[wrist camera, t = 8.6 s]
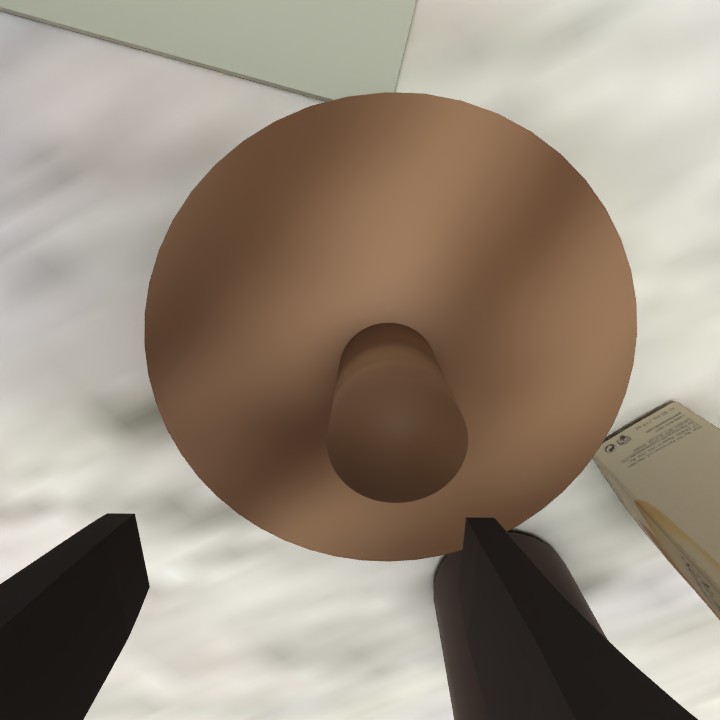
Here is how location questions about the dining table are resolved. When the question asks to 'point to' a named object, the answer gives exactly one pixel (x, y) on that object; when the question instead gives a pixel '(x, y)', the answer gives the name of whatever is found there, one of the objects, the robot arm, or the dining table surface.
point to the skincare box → (672, 490)
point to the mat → (253, 37)
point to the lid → (390, 325)
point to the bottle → (452, 630)
